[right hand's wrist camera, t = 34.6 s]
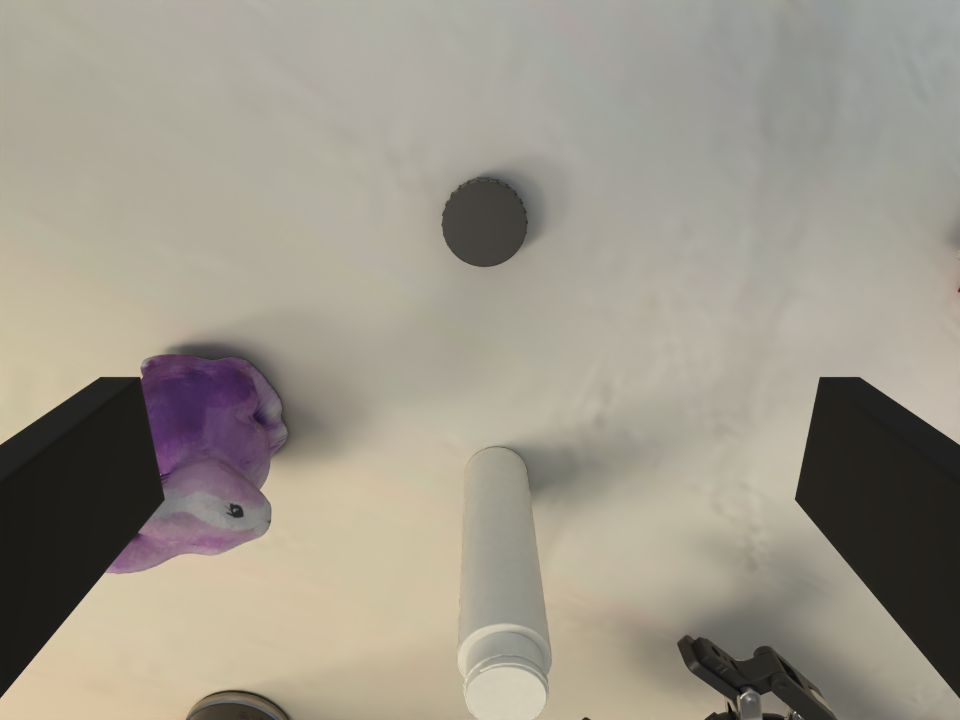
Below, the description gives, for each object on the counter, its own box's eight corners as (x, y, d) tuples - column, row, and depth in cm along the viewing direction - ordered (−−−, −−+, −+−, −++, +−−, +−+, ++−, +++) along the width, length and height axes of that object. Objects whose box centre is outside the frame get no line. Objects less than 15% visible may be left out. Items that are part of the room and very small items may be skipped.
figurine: (312, 465, 47) (241, 612, 33) (174, 466, 47) (43, 614, 33) (298, 344, 44) (212, 450, 29) (149, 345, 44) (-8, 452, 30)
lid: (433, 190, 40) (430, 194, 38) (514, 166, 40) (516, 169, 37) (456, 269, 42) (454, 277, 40) (534, 247, 41) (537, 255, 39)
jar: (538, 483, 48) (574, 712, 29) (484, 510, 48) (487, 748, 30) (507, 436, 46) (526, 644, 28) (453, 464, 47) (436, 685, 29)
